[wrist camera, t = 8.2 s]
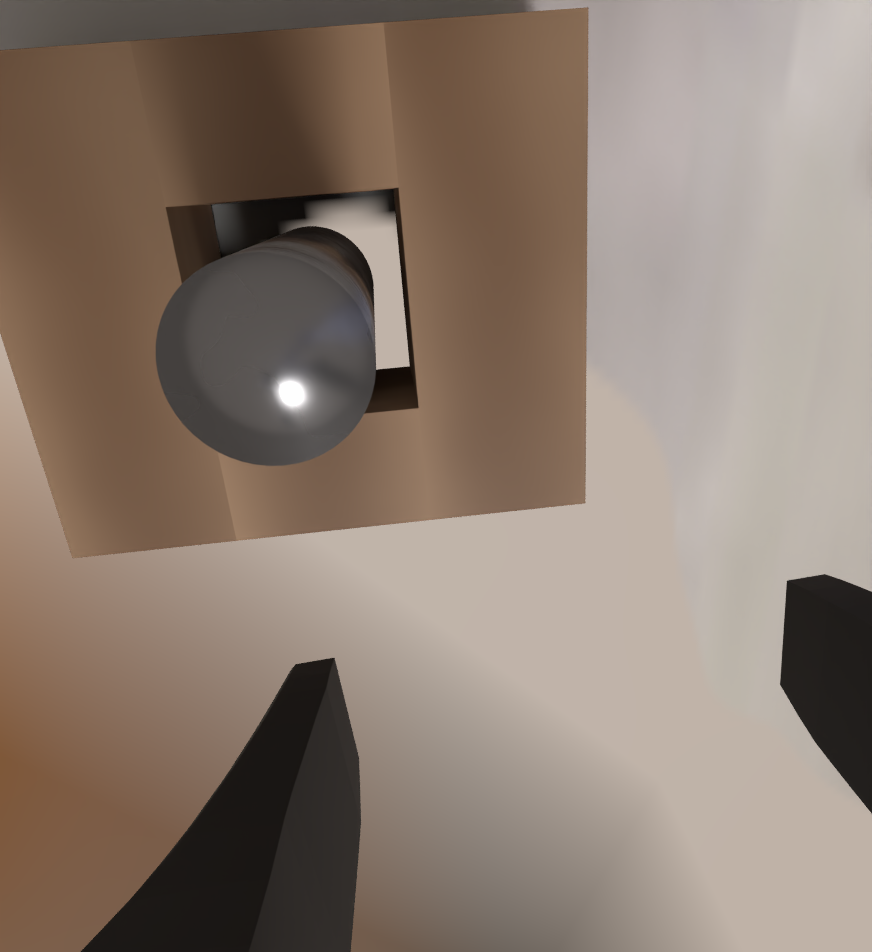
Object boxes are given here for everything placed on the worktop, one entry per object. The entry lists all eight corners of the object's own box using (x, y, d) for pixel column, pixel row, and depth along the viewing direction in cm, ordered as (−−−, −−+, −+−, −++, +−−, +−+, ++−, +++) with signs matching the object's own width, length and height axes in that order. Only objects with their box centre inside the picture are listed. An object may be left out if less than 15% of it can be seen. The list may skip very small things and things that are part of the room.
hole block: (539, 49, 16) (588, 7, 13) (546, 446, 20) (585, 503, 16) (20, 88, 16) (-89, 56, 12) (129, 489, 20) (72, 558, 16)
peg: (367, 222, 17) (364, 244, 9) (378, 340, 19) (385, 457, 10) (247, 230, 17) (133, 260, 9) (266, 349, 18) (179, 474, 10)
